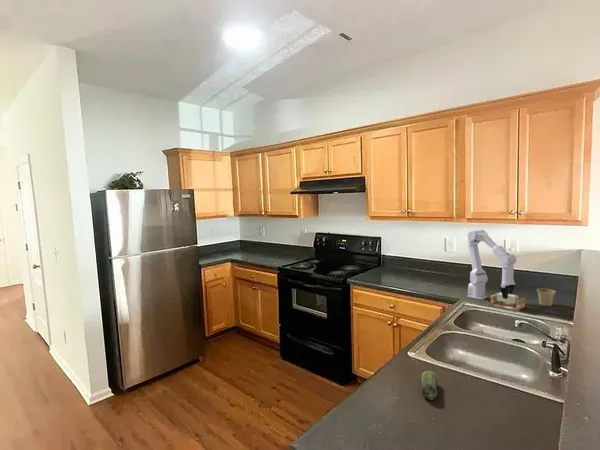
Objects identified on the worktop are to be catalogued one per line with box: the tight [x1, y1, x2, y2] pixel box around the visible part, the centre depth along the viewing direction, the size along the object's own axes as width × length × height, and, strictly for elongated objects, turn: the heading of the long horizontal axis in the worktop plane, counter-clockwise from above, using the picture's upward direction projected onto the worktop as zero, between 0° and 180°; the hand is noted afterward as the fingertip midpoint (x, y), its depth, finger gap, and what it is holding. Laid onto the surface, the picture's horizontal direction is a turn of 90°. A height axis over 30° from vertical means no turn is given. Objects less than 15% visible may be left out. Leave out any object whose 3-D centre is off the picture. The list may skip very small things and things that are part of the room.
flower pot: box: [536, 288, 557, 307], centre depth 205 cm, size 9×9×9 cm
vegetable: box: [420, 370, 438, 401], centre depth 116 cm, size 14×5×5 cm, turn 159°
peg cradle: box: [490, 292, 526, 312], centre depth 204 cm, size 15×11×6 cm
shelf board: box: [497, 291, 520, 304], centre depth 203 cm, size 10×5×4 cm, turn 39°
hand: (507, 297), depth 203 cm, fingers open, 6 cm apart
